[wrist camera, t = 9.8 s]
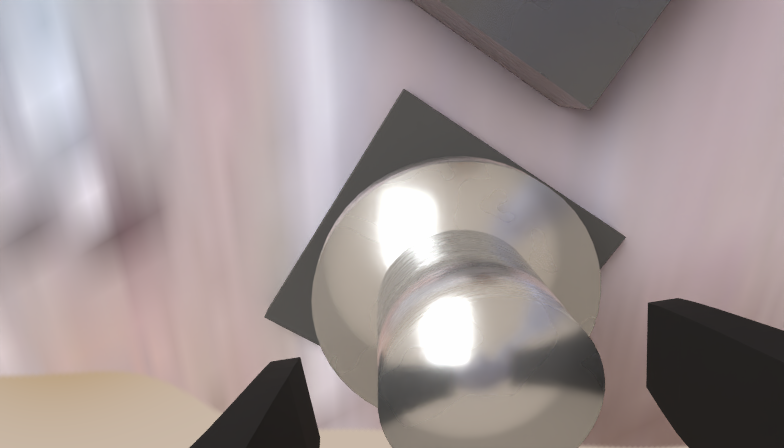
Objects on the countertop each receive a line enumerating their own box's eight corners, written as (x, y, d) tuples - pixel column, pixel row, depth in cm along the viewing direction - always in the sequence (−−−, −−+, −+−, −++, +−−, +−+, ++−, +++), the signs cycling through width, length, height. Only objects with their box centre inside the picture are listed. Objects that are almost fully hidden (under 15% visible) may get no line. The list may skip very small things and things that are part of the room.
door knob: (609, 231, 14) (782, 342, 8) (468, 401, 15) (524, 598, 10) (410, 94, 12) (442, 107, 6) (278, 298, 14) (211, 455, 8)
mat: (617, 231, 14) (626, 237, 14) (470, 414, 16) (473, 425, 16) (403, 89, 13) (404, 89, 12) (267, 309, 15) (264, 317, 14)
